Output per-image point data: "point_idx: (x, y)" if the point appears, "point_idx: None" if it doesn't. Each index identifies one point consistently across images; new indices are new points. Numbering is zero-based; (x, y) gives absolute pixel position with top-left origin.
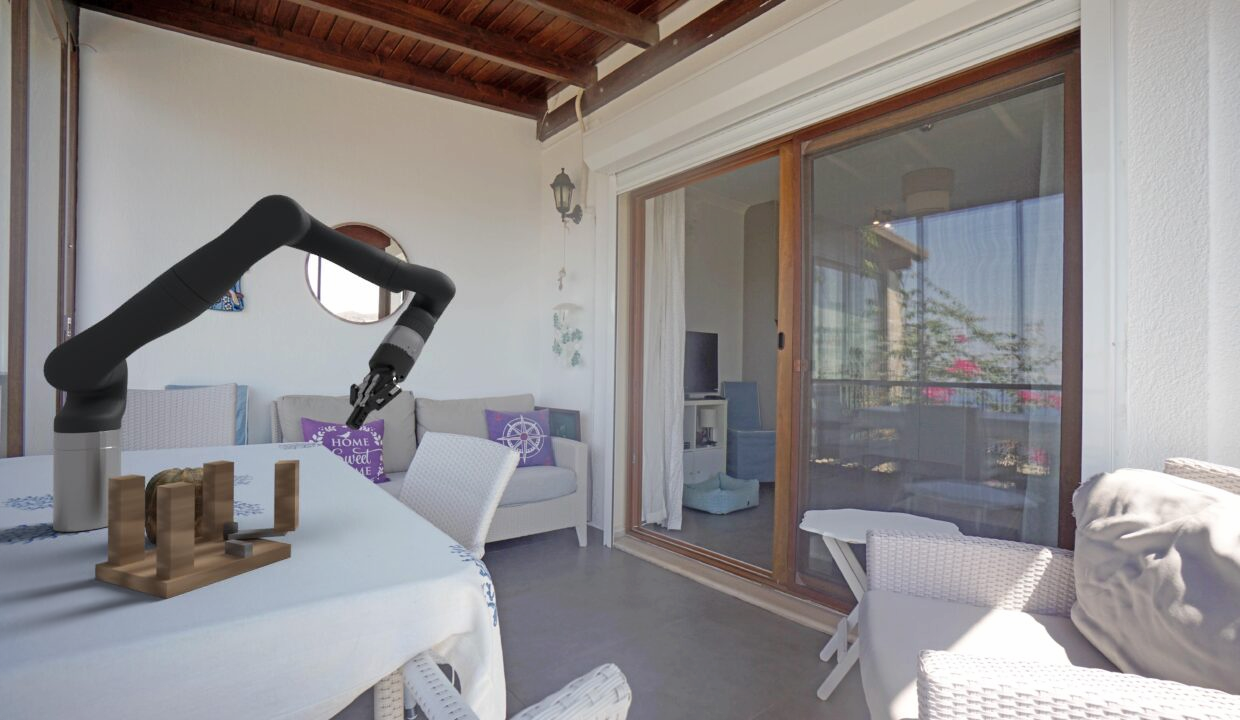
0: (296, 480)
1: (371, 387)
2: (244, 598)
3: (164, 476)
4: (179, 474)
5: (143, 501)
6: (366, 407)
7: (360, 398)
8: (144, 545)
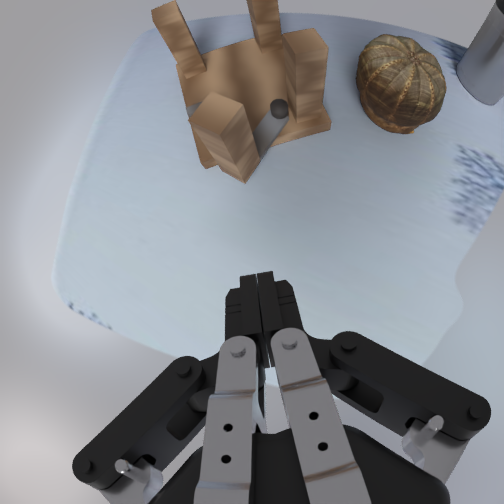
0: (207, 141)
1: (215, 439)
2: (132, 115)
3: (385, 35)
4: (383, 44)
5: (253, 9)
6: (217, 354)
7: (289, 373)
8: (260, 43)
